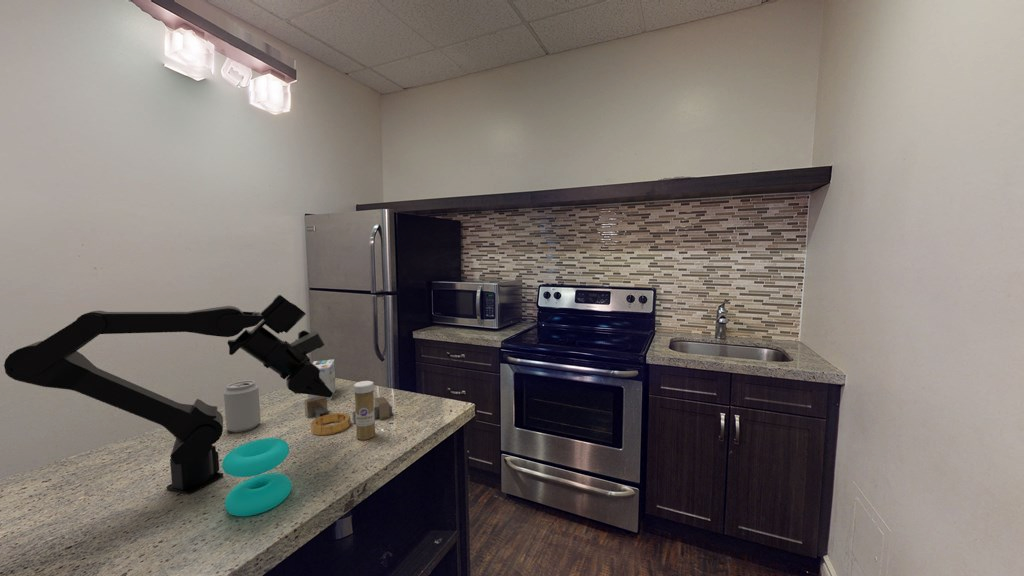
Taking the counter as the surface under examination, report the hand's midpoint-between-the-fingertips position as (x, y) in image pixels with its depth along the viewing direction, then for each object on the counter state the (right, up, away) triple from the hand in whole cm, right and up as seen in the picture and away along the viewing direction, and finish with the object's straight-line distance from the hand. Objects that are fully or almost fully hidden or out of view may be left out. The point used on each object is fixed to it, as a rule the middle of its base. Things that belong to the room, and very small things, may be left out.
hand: (327, 390), depth 88 cm
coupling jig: (-4, -12, +15) cm, 20 cm away
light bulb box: (-19, -12, +35) cm, 42 cm away
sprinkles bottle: (+7, -13, +5) cm, 16 cm away
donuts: (-2, -15, -20) cm, 25 cm away
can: (-28, -13, +12) cm, 33 cm away
